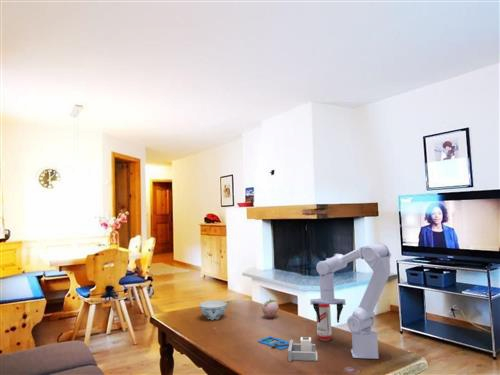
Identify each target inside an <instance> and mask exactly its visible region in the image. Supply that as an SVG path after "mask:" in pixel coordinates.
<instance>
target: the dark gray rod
mask: <svg viewBox="0 0 500 375" xmlns="http://www.w3.org/2000/svg"><path fill="white" fill-rule="evenodd" d="M293 343H294V344H297V343H295V342H293ZM282 346H289V344H283V345H273V346H270V348H271V349H277V348H276V347H282Z"/></svg>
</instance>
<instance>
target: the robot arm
mask: <svg viewBox="0 0 500 375" xmlns="http://www.w3.org/2000/svg"><path fill="white" fill-rule="evenodd" d="M391 256H392V254H391V251H390V249H389V247H388V245H386V244H385V243H375V244H367V245H365V246H360V247H358V248H356V249H354V250H352V251H350V252H348V253H346V254H342V253H334V254H333V256H332V257H327V258H325V260H320V261H318V262H317V263H316V267H315V268H316V272H317V273H318V274H319V290H320V293H319V294H320V298H311V299H310V305H311V306H312V307H313V309H314V311H315V313H316V314H317V317H318V321H319V322H320V313H319V304H329V305H335V306H336V322H337V323H340V317H341V314H342V311H343V309H344V306H346V299H344V298H335V285H334V277H335V272H336V271H339V270H342V269H344V268H346V267H347V266H348V263H350V262H354V261H355V260H359V259H361V260H364V261H365V263H367V265H368V266H369V268H370V269H371V270H372V272H373V273H372V274H371V277H370V279H369V282H368V284H367V287H366V289H365V292H364V293H363V296H362V298H361V301H360V303H359V305H358V307H357V308H356V309H355V310H354V311H352V314H351V315H350V316H348V318H347V321H346V323H347V327H348V329H349V330H350V333H351V342H352V343H351V344H352V348H350V352H351V355H352V358H353V359H372V360H373V359H375V360H377V359H380V357H379V344H378V336H377V335H378V334H377V331H374V330H372V327H373V325H374V324H375V320H374V319H375V315H376V314H375V312H374V310H375V308H376V306H377V303H378V302H379V299H380V297H381V294H382V292H383V290H384V287H385V285H386V283H387V281H388V279H389V277H390V274H391V264H390V262H391V260H390V258H391ZM316 314H315V315H316Z"/></svg>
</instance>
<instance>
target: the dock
mask: <svg viewBox="0 0 500 375" xmlns="http://www.w3.org/2000/svg"><path fill="white" fill-rule="evenodd" d="M289 342H290V343H289V348H287V356H288V357H287V360H288V362H289V363H291V362H293V361H295V362H296V361H298V362H300V361H301V362H302V361H303V362H318V351H317V349H316V348H317V347H316V343H311V347H312V352H306V351H301V343H296V344H294V343H295V342H294V340H293V339H290V340H289Z"/></svg>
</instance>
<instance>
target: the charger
mask: <svg viewBox="0 0 500 375" xmlns="http://www.w3.org/2000/svg"><path fill="white" fill-rule="evenodd" d="M300 344H301V351H306V352H312V347H311V344H312V337H310V336H308V337H307V336H300Z"/></svg>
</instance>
